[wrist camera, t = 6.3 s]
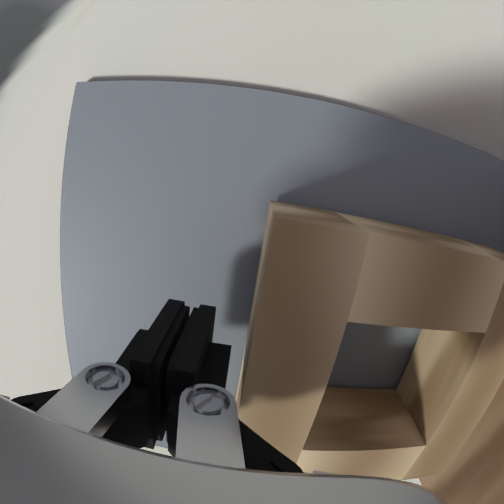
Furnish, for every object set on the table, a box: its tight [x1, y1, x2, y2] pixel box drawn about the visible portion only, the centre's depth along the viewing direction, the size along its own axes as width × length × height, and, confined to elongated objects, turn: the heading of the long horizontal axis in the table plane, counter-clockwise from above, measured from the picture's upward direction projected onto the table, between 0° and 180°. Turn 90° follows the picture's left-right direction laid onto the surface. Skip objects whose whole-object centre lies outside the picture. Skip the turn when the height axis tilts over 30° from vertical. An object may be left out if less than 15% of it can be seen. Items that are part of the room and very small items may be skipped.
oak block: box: [235, 200, 504, 480], centre depth 11 cm, size 10×10×4 cm
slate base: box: [60, 80, 504, 448], centre depth 13 cm, size 24×18×1 cm
